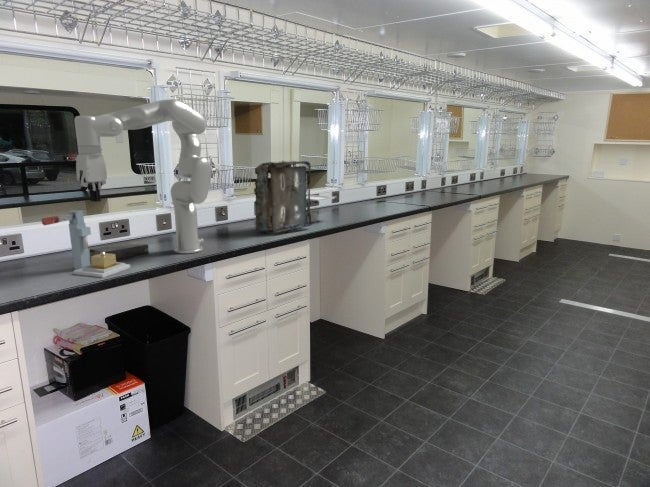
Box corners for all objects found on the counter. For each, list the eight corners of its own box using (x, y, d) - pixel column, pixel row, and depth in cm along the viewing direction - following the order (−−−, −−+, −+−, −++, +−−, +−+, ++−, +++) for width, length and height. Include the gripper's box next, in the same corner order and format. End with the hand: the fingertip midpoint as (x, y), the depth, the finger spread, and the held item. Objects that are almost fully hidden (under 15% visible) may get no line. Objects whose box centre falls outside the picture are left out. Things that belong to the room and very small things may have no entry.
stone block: (149, 254, 200) (148, 243, 199) (104, 264, 186) (102, 252, 185) (134, 250, 209) (133, 239, 208) (90, 259, 194) (88, 247, 193)
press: (92, 263, 185) (85, 207, 180) (130, 267, 179) (124, 210, 174) (63, 272, 172) (55, 213, 167) (102, 277, 166) (95, 215, 161)
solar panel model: (335, 220, 280) (335, 196, 276) (318, 225, 266) (317, 199, 263) (300, 216, 296) (300, 193, 293) (283, 220, 283) (282, 196, 279)
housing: (104, 265, 178) (102, 249, 177) (116, 266, 176) (114, 251, 175) (92, 269, 173) (90, 253, 171) (104, 270, 171) (102, 254, 169)
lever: (76, 218, 175) (75, 211, 175) (81, 218, 174) (80, 212, 174) (42, 225, 162) (41, 217, 161) (47, 225, 161) (46, 218, 160)
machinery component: (264, 237, 232) (261, 163, 223) (244, 232, 245) (241, 161, 237) (312, 229, 253) (311, 161, 245) (291, 224, 267) (290, 160, 258)
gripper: (97, 150, 172) (102, 198, 177) (64, 151, 159) (71, 203, 163) (113, 150, 170) (118, 199, 174) (81, 151, 156) (87, 204, 160)
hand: (95, 201), depth 169 cm, fingers closed
